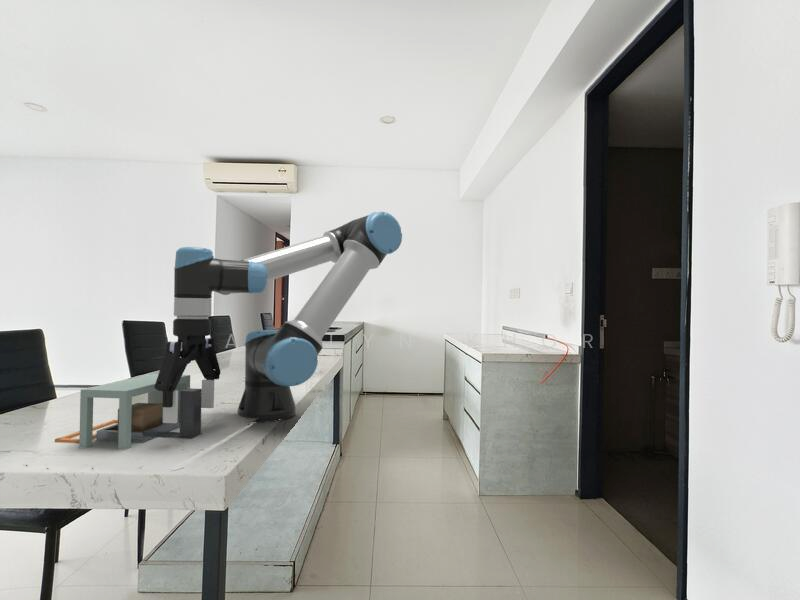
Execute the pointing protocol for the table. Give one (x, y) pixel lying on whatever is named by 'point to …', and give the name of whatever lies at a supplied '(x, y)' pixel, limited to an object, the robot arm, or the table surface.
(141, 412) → the walnut block
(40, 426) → the table surface
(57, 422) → the table surface
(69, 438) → the orange rails
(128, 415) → the tunnel
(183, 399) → the slider
